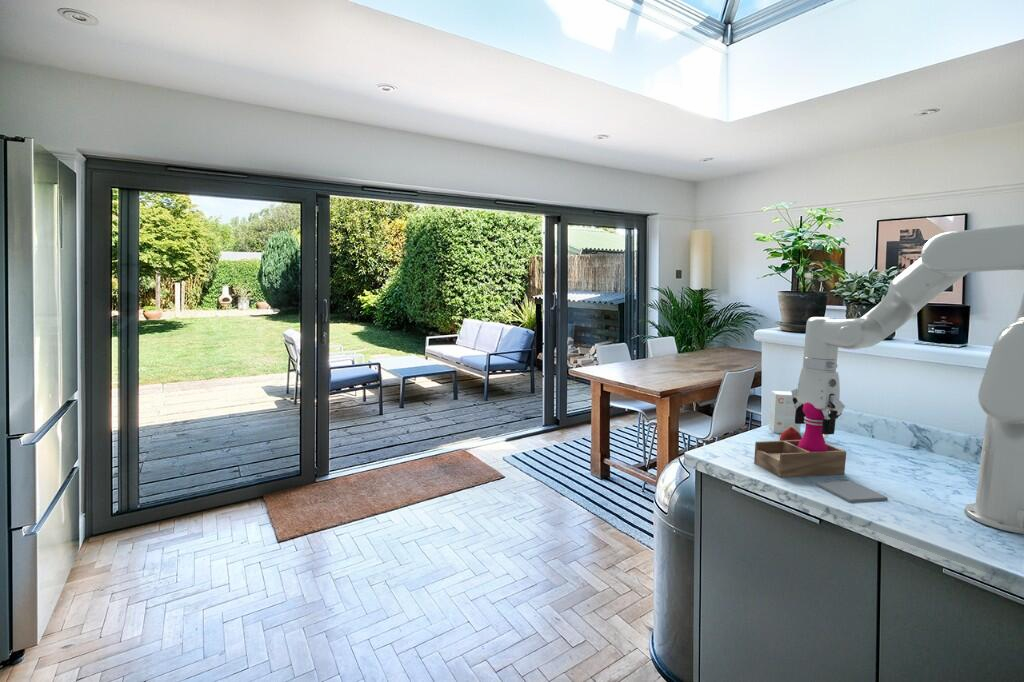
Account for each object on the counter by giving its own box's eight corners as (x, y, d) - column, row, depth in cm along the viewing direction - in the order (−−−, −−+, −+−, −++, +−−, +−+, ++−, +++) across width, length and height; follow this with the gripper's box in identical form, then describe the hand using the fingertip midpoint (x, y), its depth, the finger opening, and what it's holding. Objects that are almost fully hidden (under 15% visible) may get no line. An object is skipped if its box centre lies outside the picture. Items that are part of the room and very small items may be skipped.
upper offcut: (799, 468, 133) (800, 461, 133) (781, 469, 132) (781, 462, 132) (782, 459, 140) (782, 453, 140) (764, 459, 139) (765, 453, 139)
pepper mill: (831, 473, 134) (838, 397, 132) (800, 471, 135) (806, 396, 133) (820, 464, 141) (826, 391, 139) (791, 462, 142) (797, 390, 140)
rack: (844, 474, 134) (846, 451, 133) (780, 477, 131) (782, 454, 130) (813, 460, 144) (815, 439, 144) (754, 463, 141) (755, 441, 140)
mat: (887, 499, 118) (887, 497, 118) (849, 502, 116) (849, 499, 116) (851, 483, 128) (851, 480, 128) (815, 485, 126) (815, 482, 126)
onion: (803, 452, 151) (805, 425, 150) (798, 457, 146) (800, 429, 146) (782, 448, 155) (784, 422, 154) (776, 452, 150) (778, 425, 149)
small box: (794, 429, 175) (797, 391, 174) (800, 434, 169) (803, 395, 168) (768, 427, 177) (770, 390, 175) (773, 433, 171) (776, 394, 169)
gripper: (859, 370, 127) (852, 438, 129) (807, 359, 144) (802, 419, 146) (832, 370, 126) (826, 439, 128) (783, 359, 143) (778, 420, 145)
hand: (813, 428), depth 137 cm, fingers open, 9 cm apart
